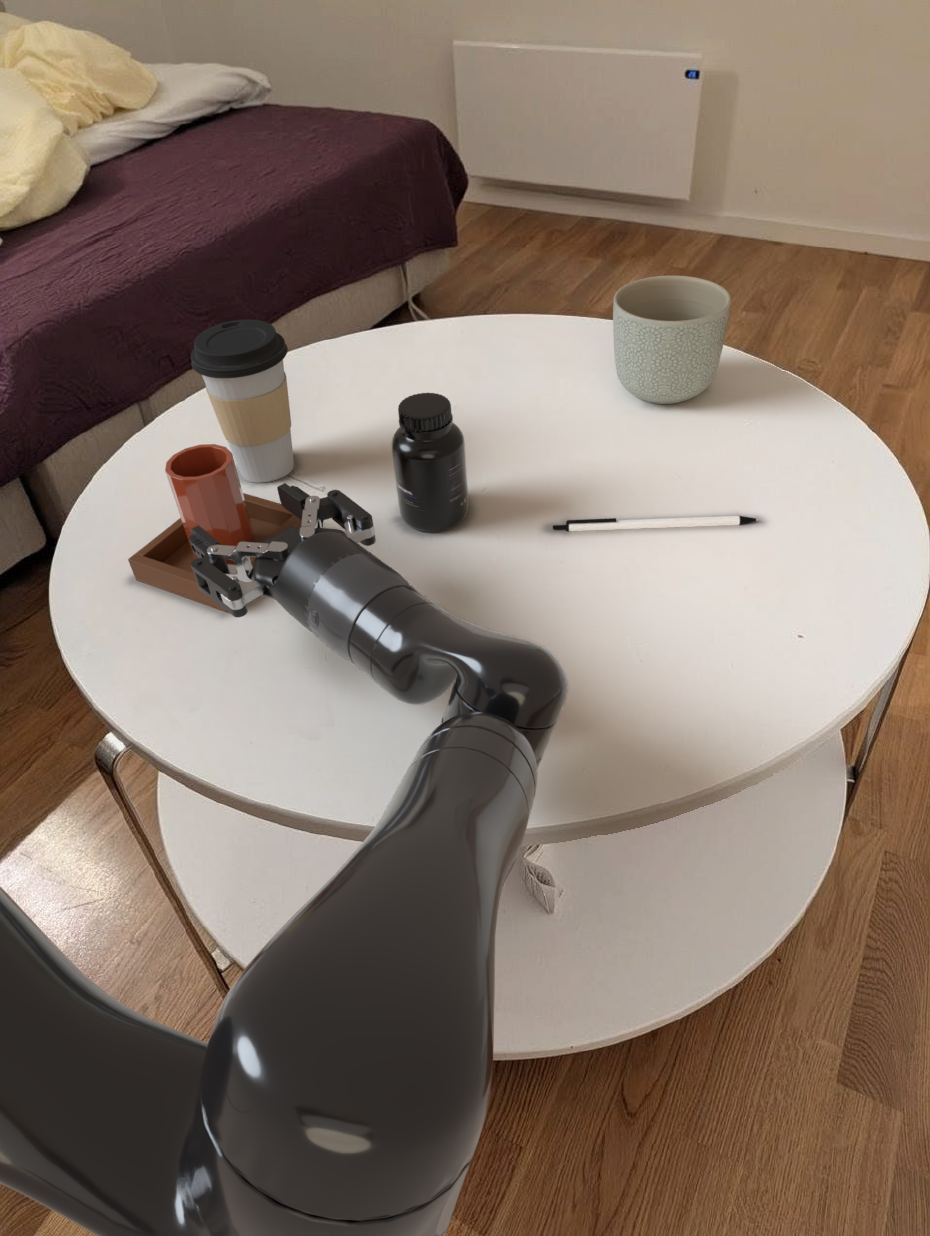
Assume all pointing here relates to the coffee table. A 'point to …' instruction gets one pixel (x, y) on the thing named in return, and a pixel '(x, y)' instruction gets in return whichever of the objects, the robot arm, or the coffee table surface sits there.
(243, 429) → the coffee cup
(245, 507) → the tumbler
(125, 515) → the coffee table surface
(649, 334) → the planter
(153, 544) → the tray
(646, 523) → the pen
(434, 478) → the supplement bottle
